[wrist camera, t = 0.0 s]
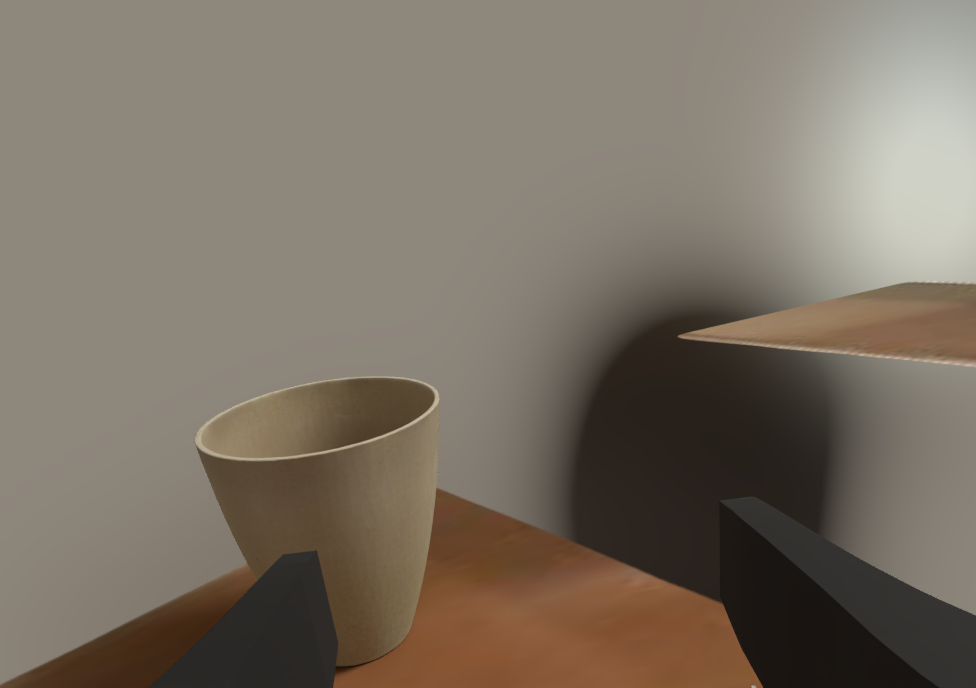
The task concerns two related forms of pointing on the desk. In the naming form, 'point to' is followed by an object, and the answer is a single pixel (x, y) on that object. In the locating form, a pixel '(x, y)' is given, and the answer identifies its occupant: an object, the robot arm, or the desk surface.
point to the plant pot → (335, 494)
